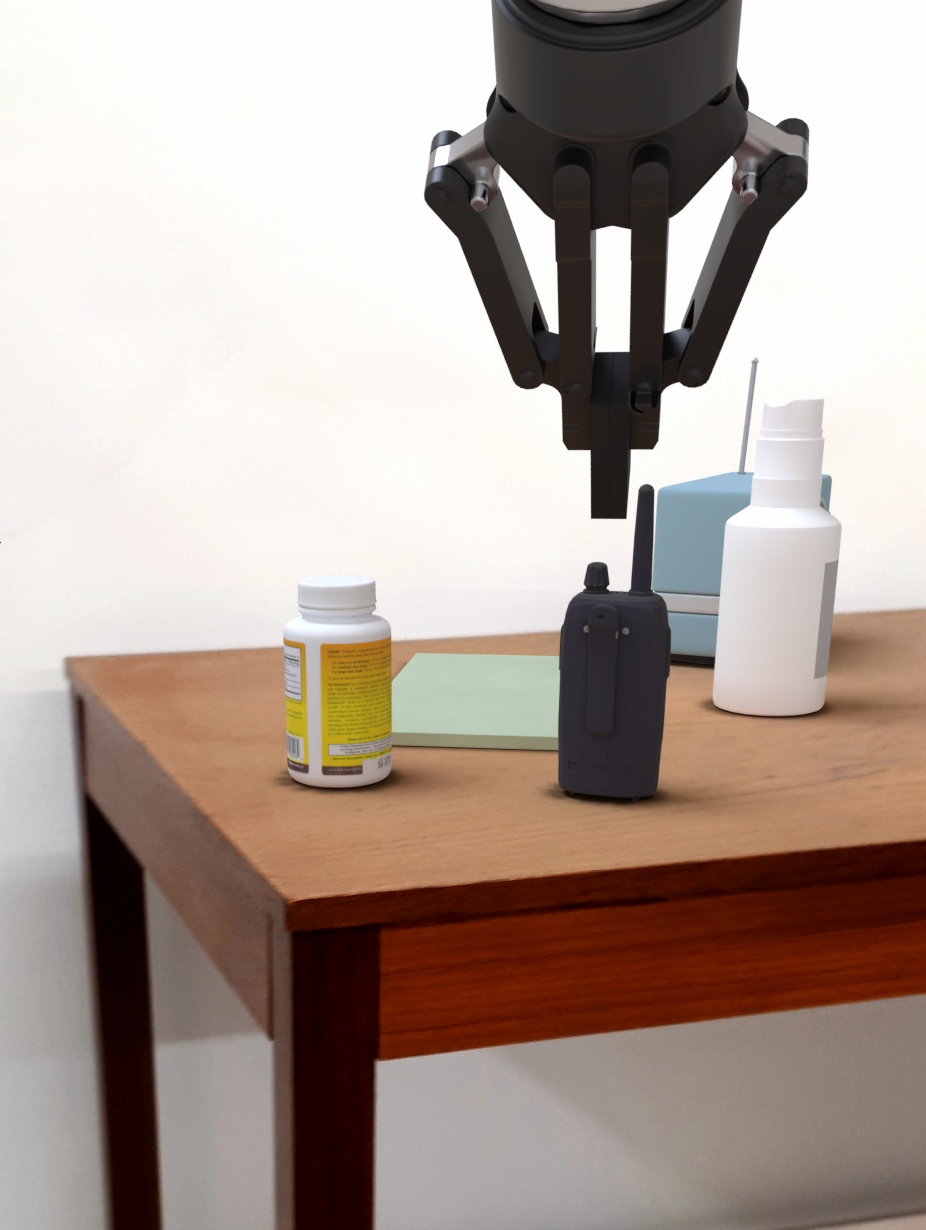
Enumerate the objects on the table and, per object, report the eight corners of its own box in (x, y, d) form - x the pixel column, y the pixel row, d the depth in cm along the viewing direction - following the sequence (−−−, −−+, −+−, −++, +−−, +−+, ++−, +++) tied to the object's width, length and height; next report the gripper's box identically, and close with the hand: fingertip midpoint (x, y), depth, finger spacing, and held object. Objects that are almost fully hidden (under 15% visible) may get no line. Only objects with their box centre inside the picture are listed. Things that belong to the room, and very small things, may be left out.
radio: (770, 674, 114) (798, 359, 106) (645, 664, 118) (663, 359, 111) (831, 640, 127) (860, 356, 119) (716, 631, 131) (737, 356, 123)
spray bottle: (847, 708, 104) (879, 398, 97) (772, 722, 100) (800, 401, 93) (762, 691, 109) (787, 396, 102) (688, 704, 105) (709, 399, 98)
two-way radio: (669, 791, 85) (689, 482, 79) (646, 812, 81) (666, 490, 75) (564, 781, 87) (576, 480, 81) (538, 802, 83) (548, 487, 78)
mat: (642, 669, 117) (643, 657, 116) (630, 753, 93) (631, 738, 93) (416, 664, 119) (416, 652, 119) (348, 744, 96) (348, 730, 96)
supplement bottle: (411, 773, 89) (412, 576, 85) (355, 796, 85) (354, 590, 81) (324, 761, 92) (321, 570, 88) (266, 782, 88) (260, 582, 84)
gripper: (382, 43, 49) (448, 563, 70) (844, 23, 46) (766, 567, 68) (411, -127, 52) (466, 424, 73) (848, -154, 49) (771, 423, 71)
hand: (610, 492), depth 70 cm, fingers closed
